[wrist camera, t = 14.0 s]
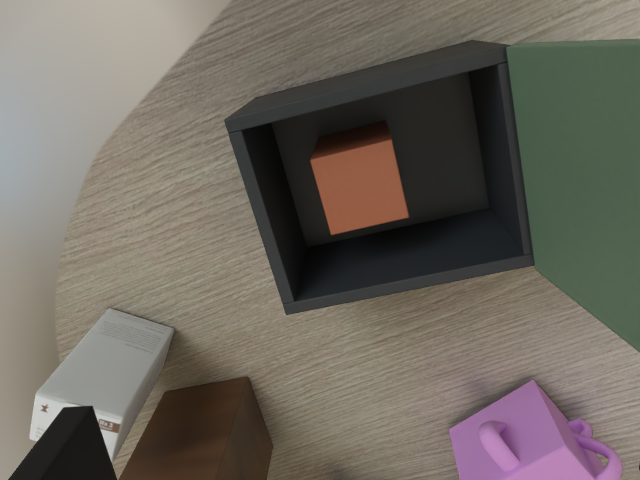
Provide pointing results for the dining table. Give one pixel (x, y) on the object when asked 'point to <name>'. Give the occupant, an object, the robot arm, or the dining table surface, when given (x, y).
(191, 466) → the stand
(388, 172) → the block
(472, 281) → the dining table surface
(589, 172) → the bin lid
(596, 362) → the dining table surface
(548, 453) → the teapot
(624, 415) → the dining table surface
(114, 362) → the cosmetic box
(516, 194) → the bin
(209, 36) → the dining table surface
